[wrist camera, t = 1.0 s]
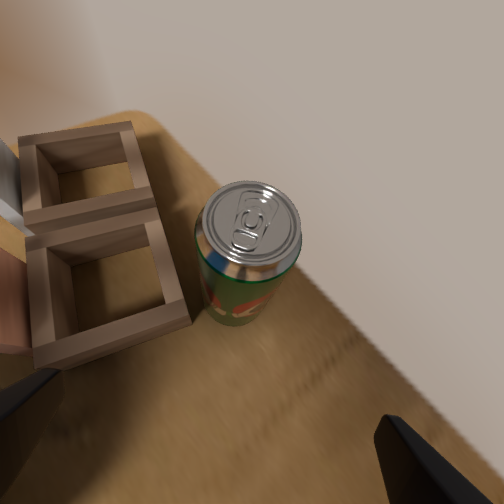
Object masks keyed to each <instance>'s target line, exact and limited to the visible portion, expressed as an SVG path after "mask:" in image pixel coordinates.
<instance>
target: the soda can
mask: <svg viewBox="0 0 504 504" xmlns="http://www.w3.org/2000/svg"><path fill="white" fill-rule="evenodd" d="M195 244H196V252H197V259H198V267H199V274H200V282H201V289H202V296H203V303H204V306H205V309H206V310H207V312H208V314H209V315H210V316H211V317H212V318H213V319H214V320H216V321H217V322H219V323H221V324H223V325H227V326H241V325H245V324H247V323H249V322H251V321H252V320H254V319H255V318H256V317H257V316H258V315H259V313H260V312H261V310H262V309H263V308H264V306H265V305H266V303H267V302H268V300H269V299H270V298H271V296H272V295H273V293H274V292H275V291H276V289H277V288H278V286H279V285H280V283H281V282H282V281H283V279H284V278H285V276H286V275H287V273H288V272H289V271H290V269H291V268H292V266H293V265H294V264H295V262H296V260H297V258H298V256H299V254H300V251H301V245H302V234H301V222H300V217H299V214H298V211H297V210H296V208H295V206H294V204H293V203H292V201H291V200H290V199H289V198H288V197H287V196H286V195H285V194H284V193H282V192H281V191H279V190H278V189H276V188H274V187H273V186H270V185H268V184H265V183H261V182H256V181H239V182H234V183H230V184H228V185H225V186H223V187H222V188H220V189H218V190H217V191H216V192H215V193H214V194H213V195H212V196H211V197H210V198H209V200H208V201H207V203H206V205H205V206H204V207H203V209H202V210H201V212H200V213H199V215H198V218H197V220H196V224H195Z"/></svg>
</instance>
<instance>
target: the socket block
mask: <svg viewBox="0 0 504 504" xmlns="http://www.w3.org/2000/svg"><path fill="white" fill-rule="evenodd" d="M18 148H19V159H18V158H17V157H16V155H15V154H14V153H13V152H12V151H11V150H10V149H9V148H8V146H7V145H6V144H5V143H4V142H3V141H2V140H1V139H0V215H1V216H2V217H3V218H5V219H6V220H7V221H9V222H10V223H11V224H12V225H14V226H15V227H16V228H18V229H19V230H20V231H22V232H23V233H24V234H25V235H27V236H28V237H25V248H26V262H27V264H26V263H24V262H23V261H21V260H19V259H18V258H16V257H15V256H13V255H11V254H10V253H8V252H6V251H5V250H3V249H2V248H0V353H5V354H13V355H21V356H30V357H33V363H34V369H40V370H41V369H43V368H48V367H49V368H56V369H61V370H62V371H66V370H68V369H71V368H74V367H77V366H79V365H82V364H85V363H88V362H90V361H93V360H96V359H99V358H101V357H104V356H107V355H110V354H112V353H115V352H118V351H121V350H123V349H126V348H129V347H132V346H134V345H137V344H140V343H143V342H145V341H148V340H151V339H154V338H156V337H159V336H162V335H165V334H168V333H170V332H173V331H176V330H179V329H181V328H184V327H187V326H190V325H192V321H191V318H190V314H189V311H188V308H187V304H186V301H185V298H184V294H183V291H182V288H181V284H180V281H179V278H178V274H177V271H176V268H175V264H174V261H173V258H172V254H171V251H170V248H169V244H168V241H167V238H166V234H165V231H164V228H163V225H162V222H161V218H160V214H159V211H158V208H157V204H156V201H155V198H154V194H153V191H152V188H151V184H150V181H149V178H148V174H147V171H146V168H145V164H144V161H143V158H142V154H141V151H140V148H139V145H138V142H137V139H136V136H135V132H134V129H133V126H132V123H131V121H126V122H119V123H112V124H105V125H98V126H91V127H84V128H77V129H69V130H62V131H55V132H48V133H41V134H34V135H27V136H20V137H18ZM127 161H128V165H129V169H130V173H131V176H132V180H133V184H134V187H135V189H131V190H126V191H122V192H117V193H112V194H107V195H103V196H98V197H93V198H88V199H83V200H79V201H74V202H69V203H64V204H62V202H61V195H60V187H59V180H58V174H60V173H66V172H71V171H77V170H82V169H88V168H93V167H99V166H105V165H110V164H116V163H121V162H127ZM149 245H150V247H151V250H152V254H153V258H154V261H155V265H156V269H157V272H158V276H159V280H160V284H161V287H162V291H163V295H164V298H165V302H166V304H165V305H162V306H159V307H156V308H153V309H150V310H147V311H144V312H141V313H138V314H135V315H132V316H129V317H126V318H123V319H120V320H116V321H113V322H110V323H107V324H104V325H101V326H98V327H95V328H92V329H89V330H86V331H83V332H80V333H79V326H78V318H77V311H76V304H75V297H74V289H73V282H72V275H71V266H75V265H78V264H82V263H86V262H90V261H93V260H97V259H101V258H105V257H108V256H112V255H116V254H119V253H123V252H127V251H131V250H134V249H138V248H142V247H145V246H149Z"/></svg>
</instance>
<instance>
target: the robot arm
mask: <svg viewBox="0 0 504 504" xmlns="http://www.w3.org/2000/svg"><path fill="white" fill-rule="evenodd" d="M64 394H65V387H64V373H63V371H62V370H61V369H56V368H49V367H48V368H43V369H41V370H39V371H37V372H35V373H33V374H31V375H30V376H28V377H26V378H24V379H22V380H20V381H18V382H16V383H14V384H12V385H10V386H8V387H6V388H5V389H3V390H1V391H0V500H1V499H2V498H3V496H4V495H5V493H6V492H7V490H8V489H9V487H10V486H11V485H12V483H13V482H14V480H15V479H16V477H17V476H18V474H19V473H20V471H21V470H22V468H23V467H24V465H25V464H26V462H27V460H28V459H29V457H30V456H31V454H32V452H33V450H34V449H35V447H36V445H37V444H38V442H39V440H40V438H41V437H42V435H43V433H44V432H45V430H46V428H47V426H48V425H49V423H50V421H51V420H52V418H53V416H54V414H55V413H56V411H57V409H58V408H59V406H60V404H61V402H62V400H63V398H64ZM374 444H375V448H376V452H377V456H378V460H379V464H380V468H381V472H382V476H383V480H384V483H385V487H386V491H387V495H388V499H389V503H390V504H493V503H492V502H491V501H490V500H489V499H488V498H487V497H486V496H485V495H483V494H482V493H481V492H480V491H479V490H478V489H477V488H476V487H475V486H474V485H473V484H472V483H471V482H469V481H468V480H467V479H466V478H465V477H464V476H463V475H462V474H461V473H460V472H459V471H458V470H457V469H455V468H454V467H453V466H452V465H451V464H450V463H449V462H448V461H447V460H446V459H445V458H444V457H443V456H441V455H440V454H439V453H438V452H437V451H436V450H435V449H434V448H433V447H432V446H431V445H430V444H429V443H427V442H426V441H425V440H424V439H423V438H422V437H421V436H420V435H419V434H418V433H417V432H416V431H415V430H414V429H412V428H411V427H410V426H409V425H408V424H407V423H406V422H405V421H404V420H403V419H402V418H400V417H399V416H395V415H388V414H385V415H383V416H382V418H381V420H380V422H379V424H378V426H377V429H376V431H375V433H374Z"/></svg>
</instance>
